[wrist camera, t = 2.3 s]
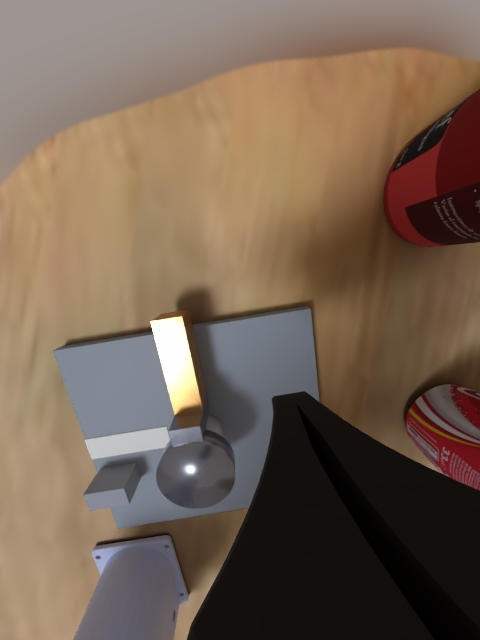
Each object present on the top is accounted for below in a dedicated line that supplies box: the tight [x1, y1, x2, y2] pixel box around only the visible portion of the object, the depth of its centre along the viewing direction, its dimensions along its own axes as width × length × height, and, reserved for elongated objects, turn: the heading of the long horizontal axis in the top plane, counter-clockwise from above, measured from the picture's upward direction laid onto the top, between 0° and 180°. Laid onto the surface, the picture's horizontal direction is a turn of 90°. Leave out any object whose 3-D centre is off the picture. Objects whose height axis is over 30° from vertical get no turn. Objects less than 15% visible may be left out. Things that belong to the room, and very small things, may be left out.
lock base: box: [53, 306, 319, 529], centre depth 19 cm, size 18×20×4 cm
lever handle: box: [151, 310, 235, 509], centre depth 16 cm, size 13×5×4 cm, turn 9°
